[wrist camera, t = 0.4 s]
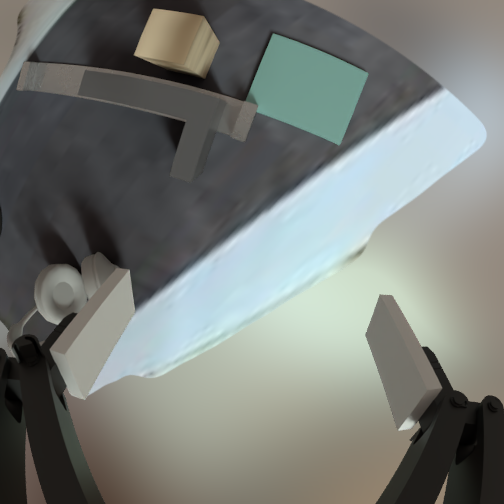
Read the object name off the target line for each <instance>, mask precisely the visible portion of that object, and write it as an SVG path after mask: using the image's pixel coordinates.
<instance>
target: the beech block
mask: <svg viewBox="0 0 504 504" xmlns="http://www.w3.org/2000/svg"><path fill="white" fill-rule="evenodd" d="M219 43H220V42H219V41H218V39H217V37H216V36H215V34H214V32H213V30H212V29H211V27H210V26H209V24H208V22H207V21H206V19H205V17H204V16H200V15H194V14H189V13H183V12H176V11H169V10H161V9H153V11H152V13H151V15H150V17H149V19H148V22H147V24H146V26H145V29H144V31H143V33H142V36H141V38H140V41H139V43H138V46H137V48H136V51H135V54H134V55H135V56H137V57H139V58H142V59H144V60H146V61H148V62H151V63H153V64H155V65H157V66H160V67H162V68H164V69H166V70H170V71H174V72H179V73H183V74H187V75H191V76H195V77H199V78H203V79H205V78H206V75H207V73H208V70H209V68H210V65H211V63H212V60H213V58H214V55H215V53H216V50H217V48H218V46H219Z"/></svg>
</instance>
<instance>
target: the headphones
mask: <svg viewBox="0 0 504 504" xmlns="http://www.w3.org/2000/svg"><path fill="white" fill-rule="evenodd" d="M116 268H119V267H118V266H117V265H114V264H112V263H111V262H110V261H109V260H108V259H107V258H106V257H105V256H104V255H103V254H102V253H100V252H96V254H95V255H94V254H92V255H90V256H87V257H85V258H84V260H83V262H82V264H81V272H82V276H81V274H80V273H79V272H78V270H77V269H76V268H74V267H72V266H70V265H69V264H50V265H49V266H47V267H46V268H45V269H43V270H42V271H41V272H40V274H39V276H38V278H37V280H36V282H35V289H34V299H35V302H36V306H35V307H33V308H32V309H31V310H30V311H29V312H28V313H27V314H26V315H25V316H24V317H23V318H22V319H21V320H20V322H19V323H18V324H13V325H12V326H11V327H10V330H9V332H8V335H7V343H8V347H9V348H10V351H11V352H12V354H13V355H14V353H13V351H12V349H11V347H12V344H13V342H14V341H15V340H16V339H17V338H18V337H20V336H22V332H23V326H24V325H25V323H26V322H27V321H28V320H29V318H30V317H31V316H32V315H33V314H34V313H35V312H36V311H37V310H38V311H39V312H40V314H41V315H42V316H43V317H44V318H45V319H46V320H47V321H49V322H52V323H55V324H59V323H60V322H61V321H62V319H63V318H64V317H66V316H67V315H69V314H71V313H72V312H74V313H79V311H80V310H81V309H82V308H83V307H84V305H85V304H86V303H87V297H88V299H90V298H91V297H92V296H93V295H94V294H95V292H96V291H97V290H98V289H99V288H100V287H101V285H102V284H103V283H104V282H105V281H106V280H107V279H108V277H109V276H110V275H111V274H112V273H113V272H114V271H115V270H116ZM44 342H45V341H42V342H39V343H40V346H41V345H42V344H43V343H44ZM14 357H15V355H14ZM15 358H16V357H15Z"/></svg>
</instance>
